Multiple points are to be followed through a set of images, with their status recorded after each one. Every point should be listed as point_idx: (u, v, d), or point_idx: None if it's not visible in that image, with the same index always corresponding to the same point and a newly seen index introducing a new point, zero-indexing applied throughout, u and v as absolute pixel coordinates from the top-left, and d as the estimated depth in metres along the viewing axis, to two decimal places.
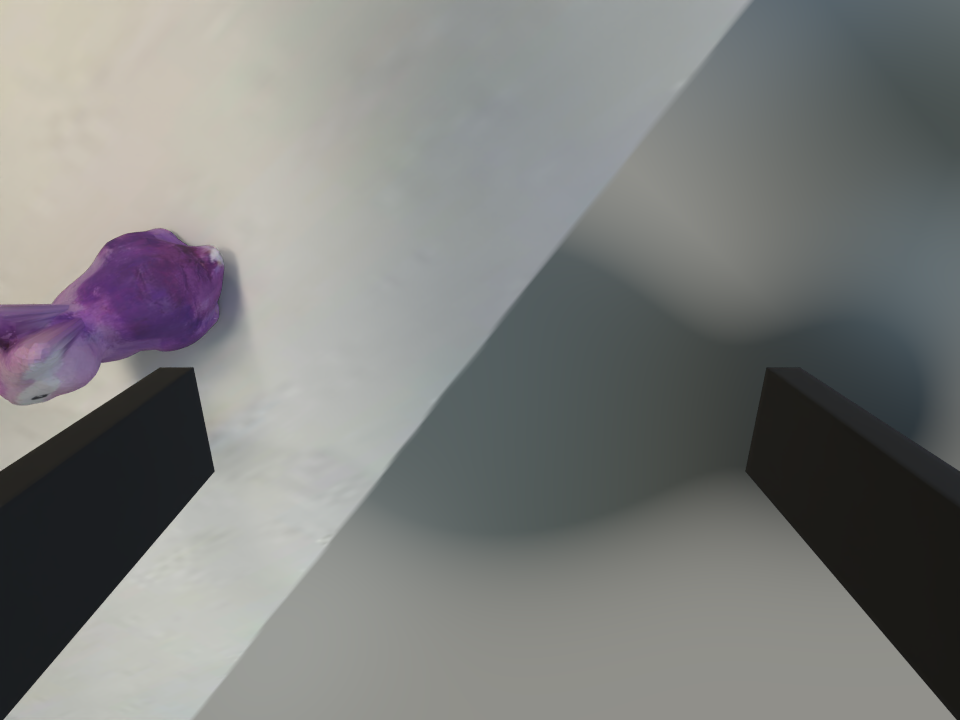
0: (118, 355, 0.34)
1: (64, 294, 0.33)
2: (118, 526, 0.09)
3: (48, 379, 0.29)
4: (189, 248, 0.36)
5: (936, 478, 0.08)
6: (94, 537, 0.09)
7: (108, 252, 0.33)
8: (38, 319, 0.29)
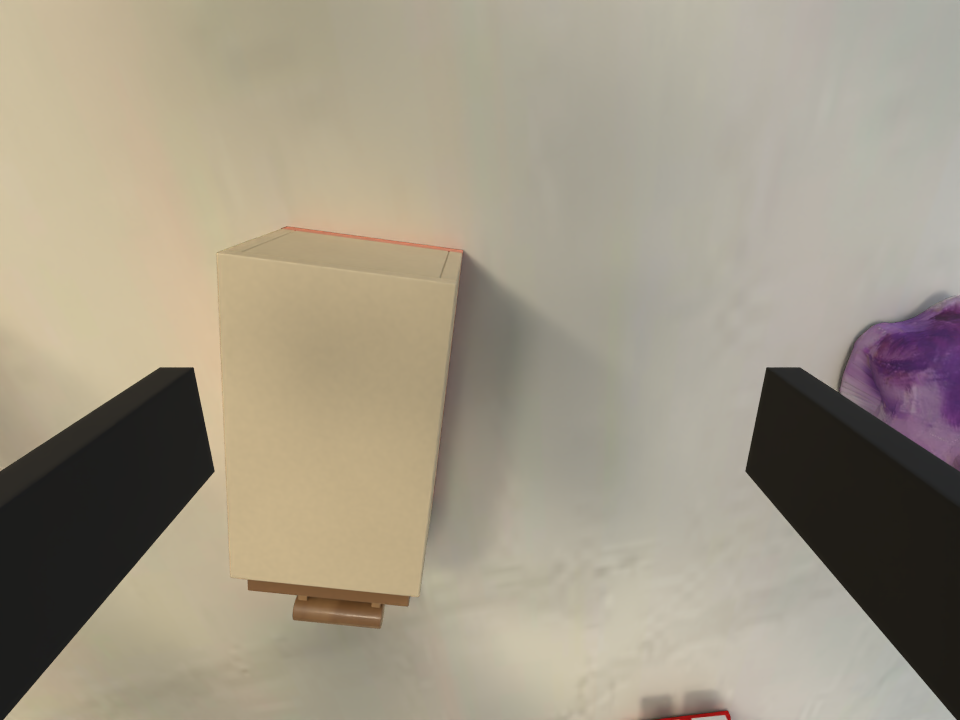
0: None
1: (930, 439, 0.30)
2: (118, 526, 0.09)
3: None
4: (947, 315, 0.31)
5: (936, 478, 0.08)
6: (94, 537, 0.09)
7: (928, 373, 0.30)
8: None
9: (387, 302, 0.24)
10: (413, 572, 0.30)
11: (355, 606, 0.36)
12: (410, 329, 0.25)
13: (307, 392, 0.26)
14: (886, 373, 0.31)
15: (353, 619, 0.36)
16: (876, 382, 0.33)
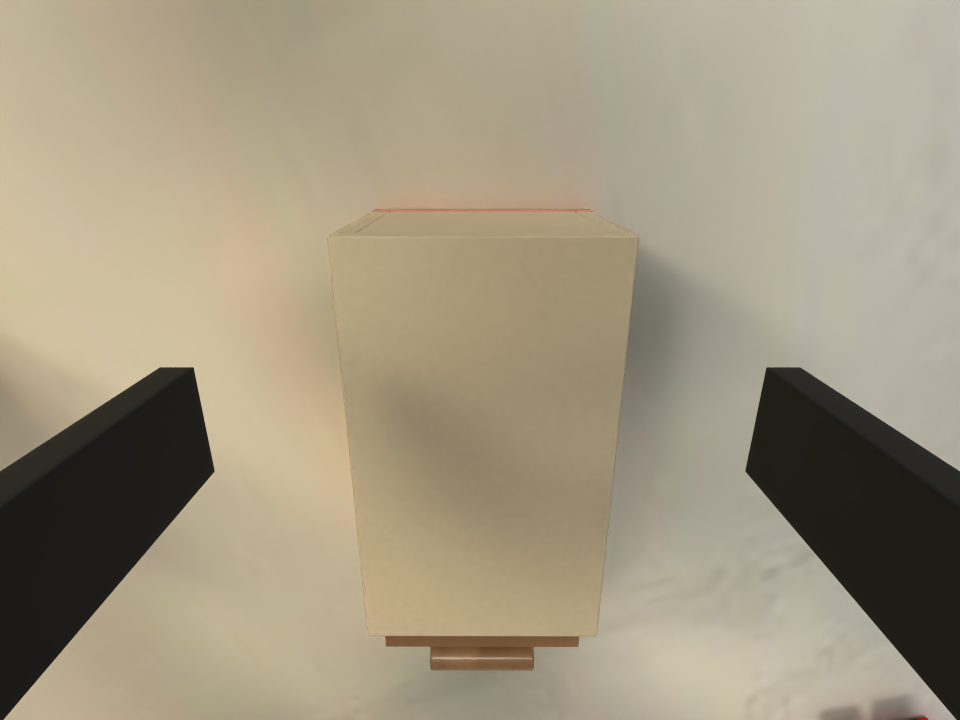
0: None
1: None
2: (118, 526, 0.09)
3: None
4: None
5: (936, 478, 0.08)
6: (94, 538, 0.09)
7: None
8: None
9: (549, 272, 0.19)
10: (589, 608, 0.24)
11: (501, 647, 0.31)
12: (579, 304, 0.19)
13: (451, 402, 0.21)
14: None
15: (501, 663, 0.30)
16: None
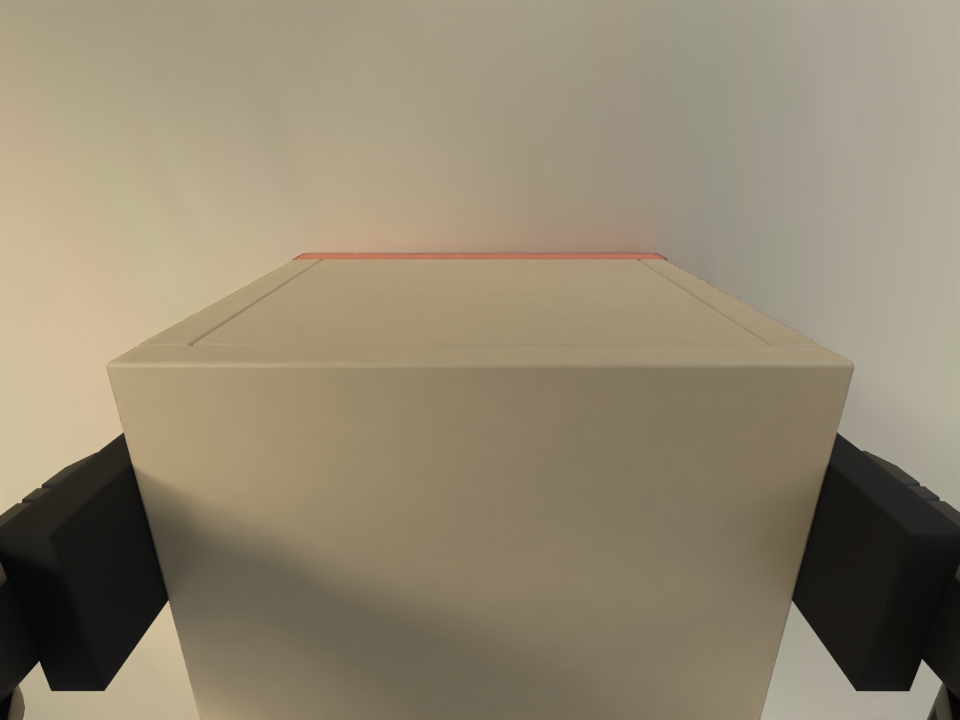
0: None
1: None
2: None
3: None
4: None
5: None
6: None
7: None
8: None
9: (635, 442, 0.08)
10: None
11: None
12: (699, 506, 0.08)
13: (414, 682, 0.10)
14: None
15: None
16: None
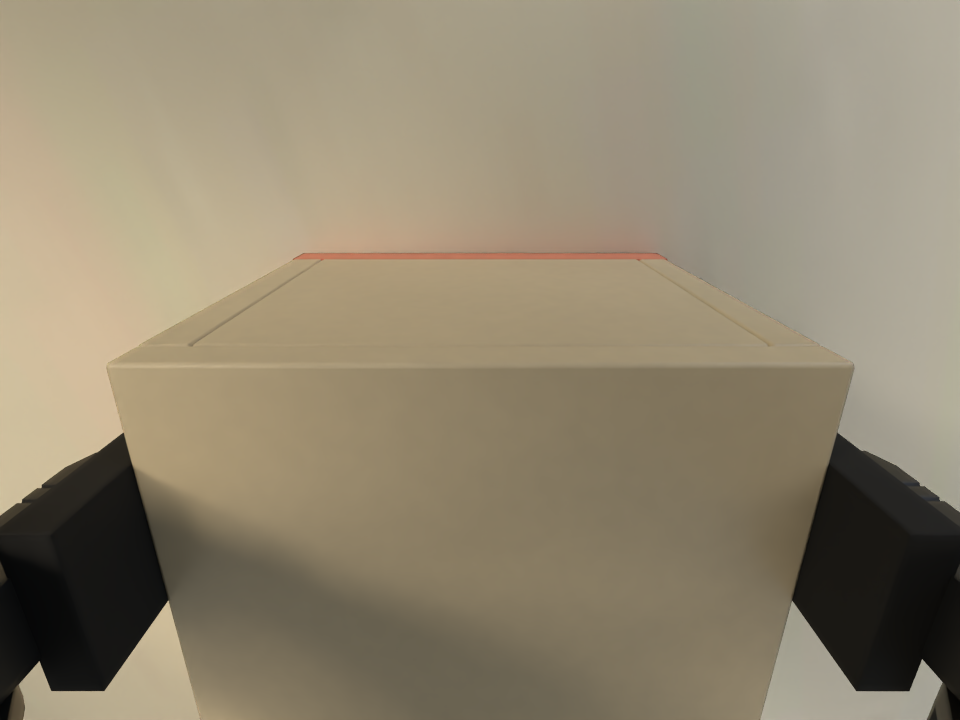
0: None
1: None
2: None
3: None
4: None
5: None
6: None
7: None
8: None
9: (635, 442, 0.08)
10: None
11: None
12: (699, 507, 0.08)
13: (414, 683, 0.10)
14: None
15: None
16: None
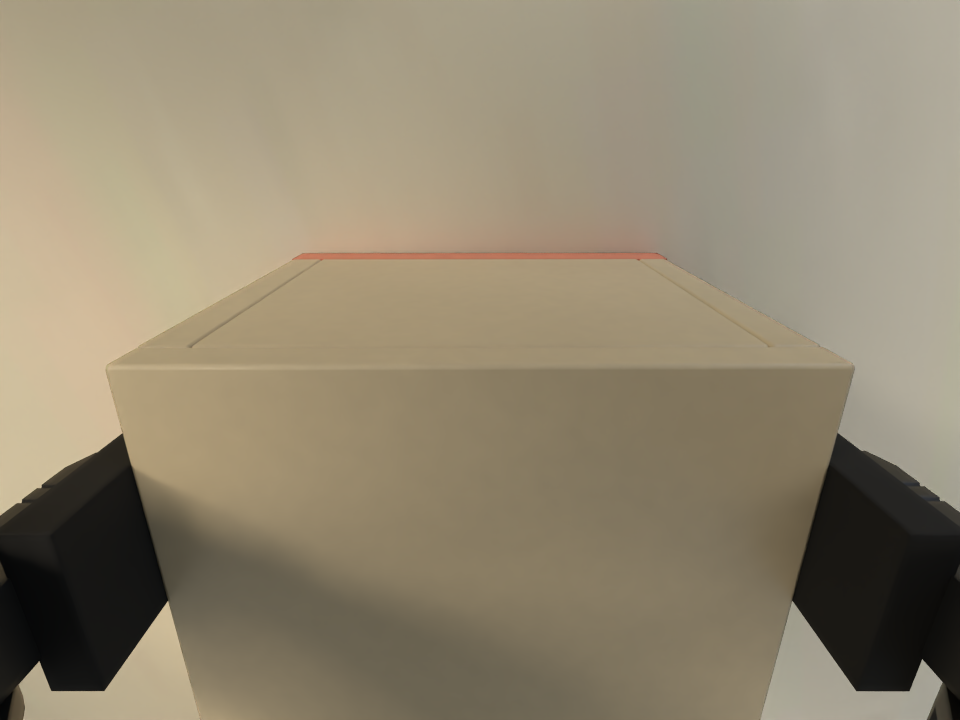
0: None
1: None
2: None
3: None
4: None
5: None
6: None
7: None
8: None
9: (635, 443, 0.08)
10: None
11: None
12: (699, 507, 0.08)
13: (414, 683, 0.10)
14: None
15: None
16: None
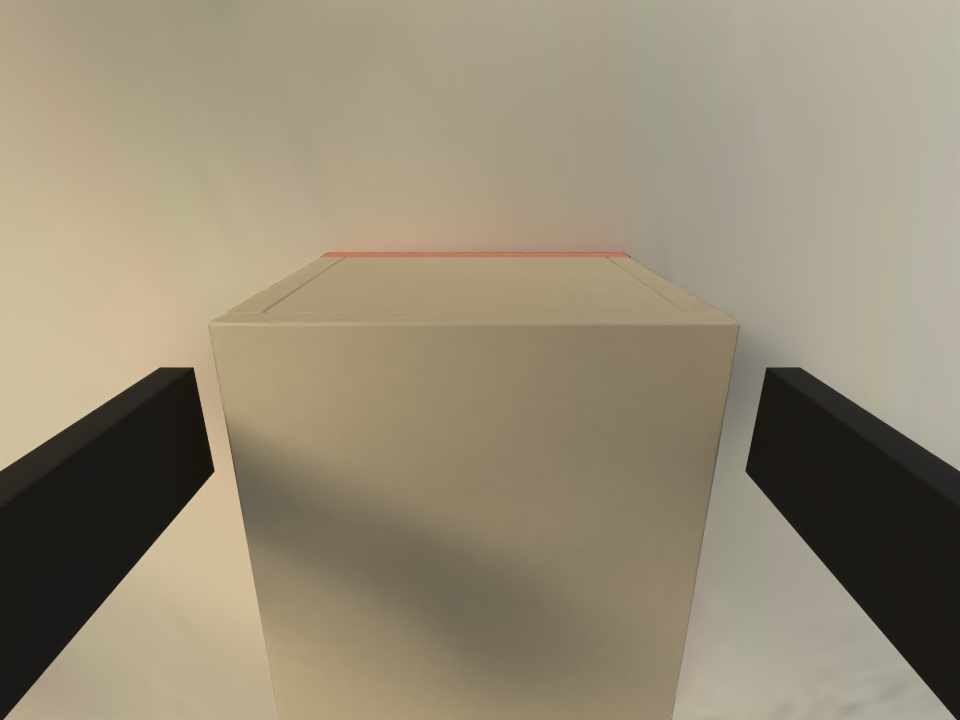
0: None
1: None
2: (118, 526, 0.09)
3: None
4: None
5: (936, 478, 0.08)
6: (94, 537, 0.09)
7: None
8: None
9: (586, 381, 0.11)
10: None
11: None
12: (635, 430, 0.12)
13: (424, 575, 0.13)
14: None
15: None
16: None
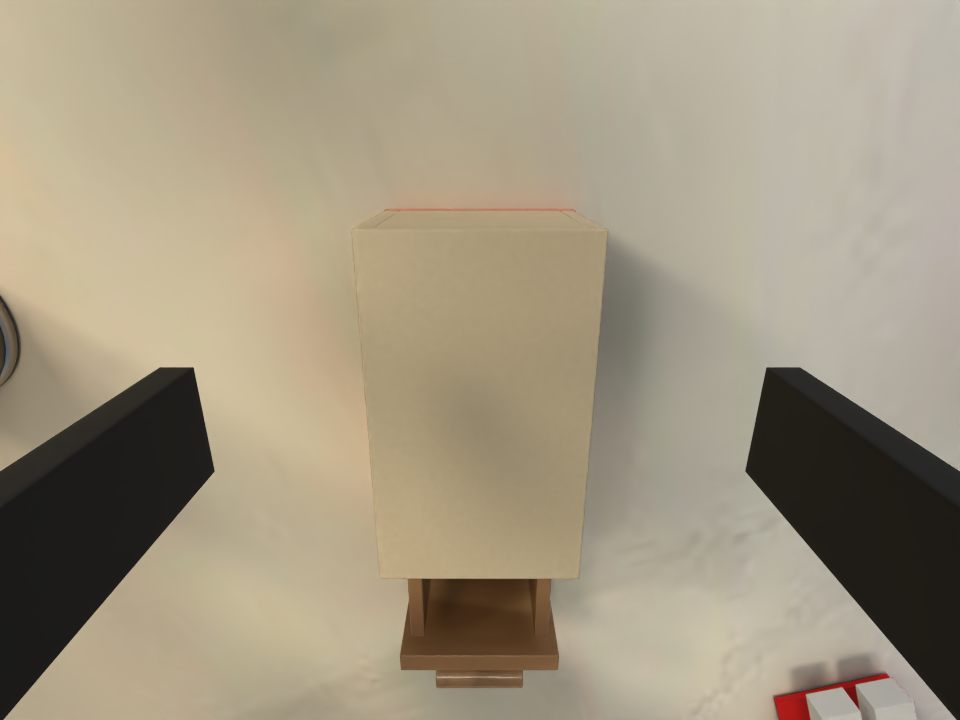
0: None
1: None
2: (118, 526, 0.09)
3: None
4: None
5: (936, 478, 0.08)
6: (94, 538, 0.09)
7: None
8: None
9: (534, 260, 0.23)
10: (571, 552, 0.28)
11: None
12: (560, 287, 0.23)
13: (453, 369, 0.24)
14: None
15: (495, 681, 0.36)
16: None
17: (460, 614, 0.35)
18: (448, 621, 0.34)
